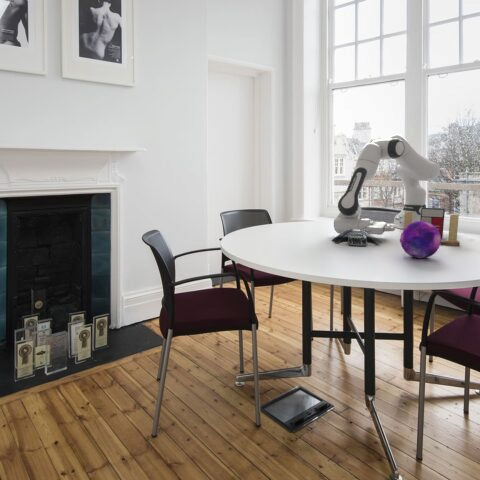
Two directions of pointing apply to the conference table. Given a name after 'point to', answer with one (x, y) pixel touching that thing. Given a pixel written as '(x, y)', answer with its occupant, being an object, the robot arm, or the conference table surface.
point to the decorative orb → (420, 239)
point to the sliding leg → (408, 218)
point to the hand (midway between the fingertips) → (394, 229)
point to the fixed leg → (453, 228)
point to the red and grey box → (434, 217)
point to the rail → (447, 243)
